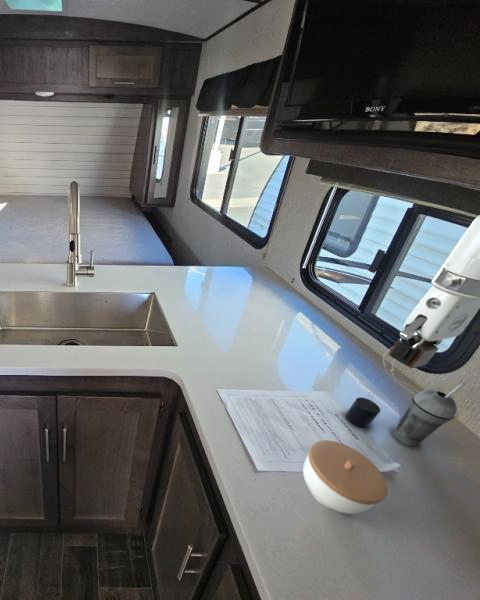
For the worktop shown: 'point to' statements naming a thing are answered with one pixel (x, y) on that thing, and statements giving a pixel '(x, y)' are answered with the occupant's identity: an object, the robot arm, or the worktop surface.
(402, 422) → the beverage cup
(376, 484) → the lidded bowl
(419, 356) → the walnut block
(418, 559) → the worktop surface
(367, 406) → the black cylinder
